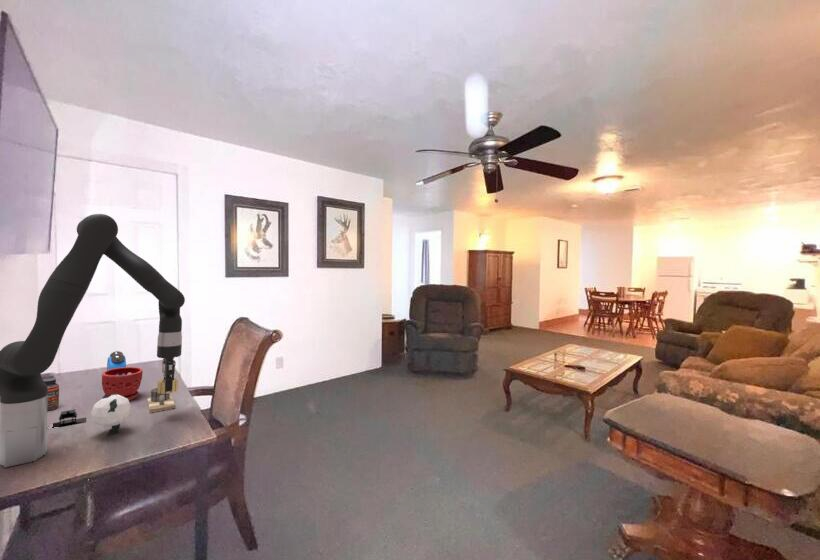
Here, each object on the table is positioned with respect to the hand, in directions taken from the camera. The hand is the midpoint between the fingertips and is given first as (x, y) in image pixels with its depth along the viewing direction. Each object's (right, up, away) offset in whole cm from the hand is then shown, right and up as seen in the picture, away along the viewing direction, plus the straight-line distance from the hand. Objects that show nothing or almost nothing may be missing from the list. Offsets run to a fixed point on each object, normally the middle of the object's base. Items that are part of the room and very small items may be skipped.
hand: (167, 388), depth 131 cm
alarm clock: (-46, -8, +32) cm, 57 cm away
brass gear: (0, -1, 0) cm, 1 cm away
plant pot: (-30, -9, +16) cm, 35 cm away
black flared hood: (-30, -11, -7) cm, 32 cm away
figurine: (-10, -11, -13) cm, 20 cm away
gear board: (-10, -10, +11) cm, 18 cm away
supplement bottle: (-48, -9, +3) cm, 49 cm away
